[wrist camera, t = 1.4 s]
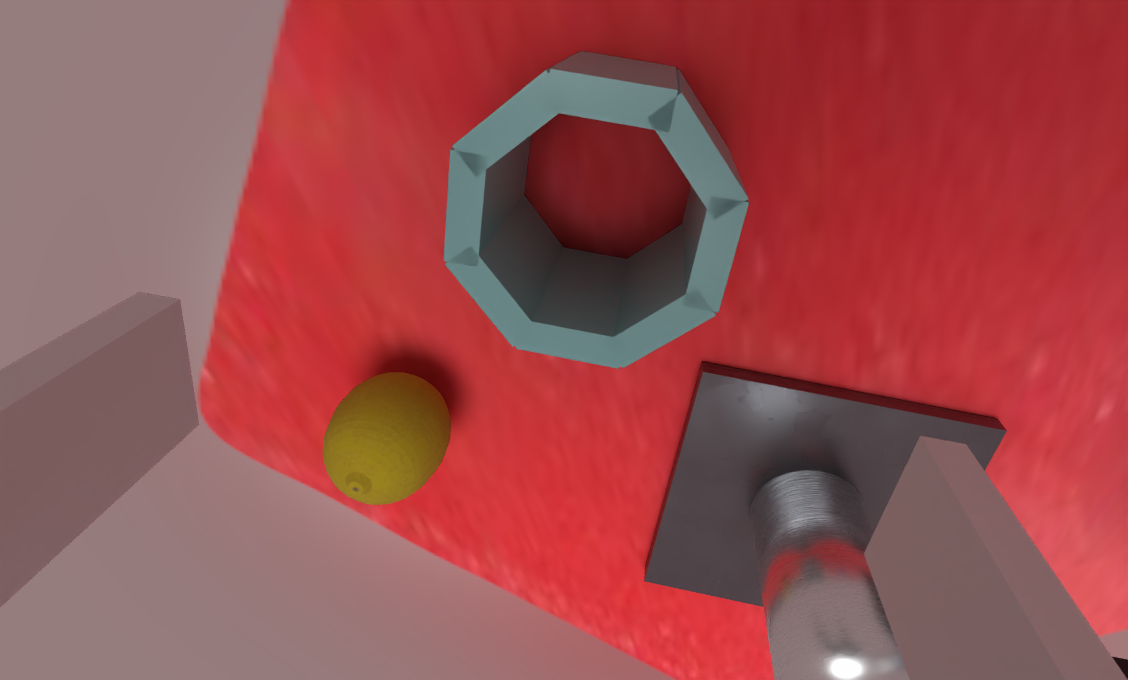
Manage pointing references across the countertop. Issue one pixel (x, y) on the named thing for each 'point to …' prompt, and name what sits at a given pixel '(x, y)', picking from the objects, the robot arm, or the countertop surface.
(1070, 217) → the countertop surface
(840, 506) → the domed lamp fixture
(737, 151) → the countertop surface
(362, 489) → the lemon
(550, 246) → the collar
